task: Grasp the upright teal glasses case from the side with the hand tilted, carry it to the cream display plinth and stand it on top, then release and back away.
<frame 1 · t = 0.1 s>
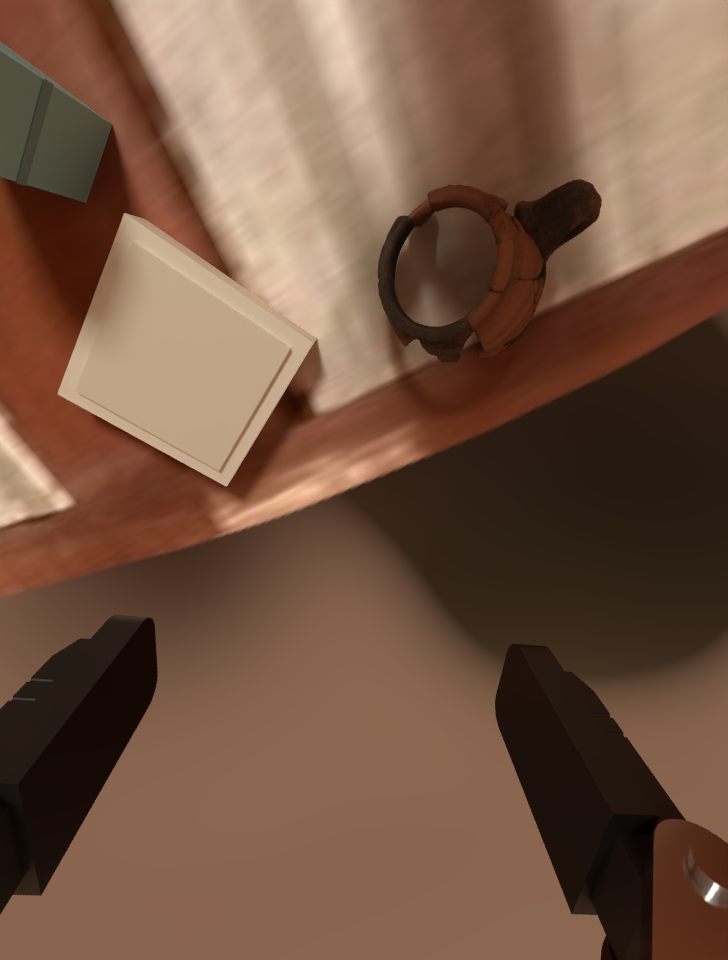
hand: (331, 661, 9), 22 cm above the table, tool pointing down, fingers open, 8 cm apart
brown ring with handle: (471, 273, 26), on the table
glasses case: (48, 129, 22), on the table
display plinth: (196, 362, 28), on the table
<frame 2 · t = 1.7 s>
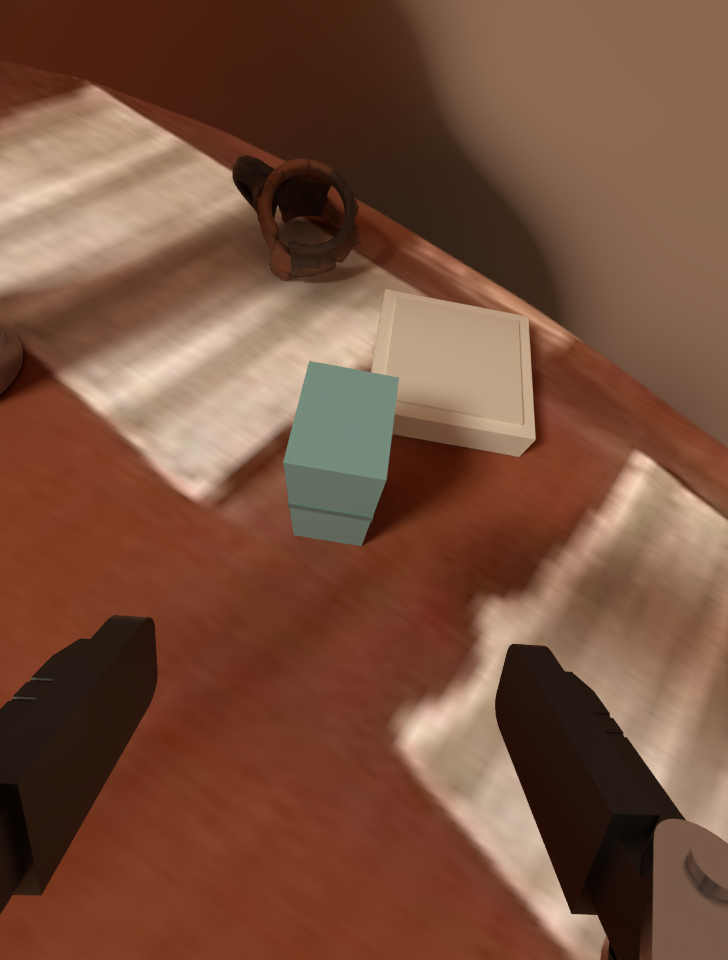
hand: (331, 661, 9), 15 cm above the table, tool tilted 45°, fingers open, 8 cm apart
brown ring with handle: (297, 249, 38), on the table
glasses case: (334, 500, 27), on the table
display plinth: (444, 380, 33), on the table
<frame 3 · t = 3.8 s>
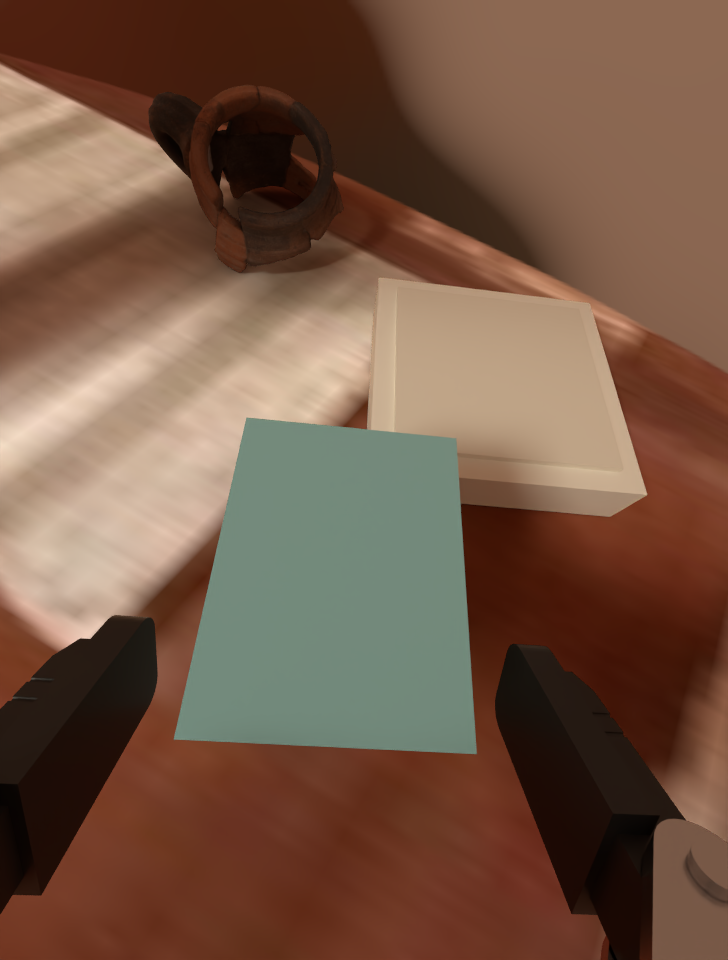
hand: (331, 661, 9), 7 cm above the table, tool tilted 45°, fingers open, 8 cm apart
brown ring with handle: (256, 231, 27), on the table
glasses case: (330, 630, 16), on the table
display plinth: (479, 404, 22), on the table
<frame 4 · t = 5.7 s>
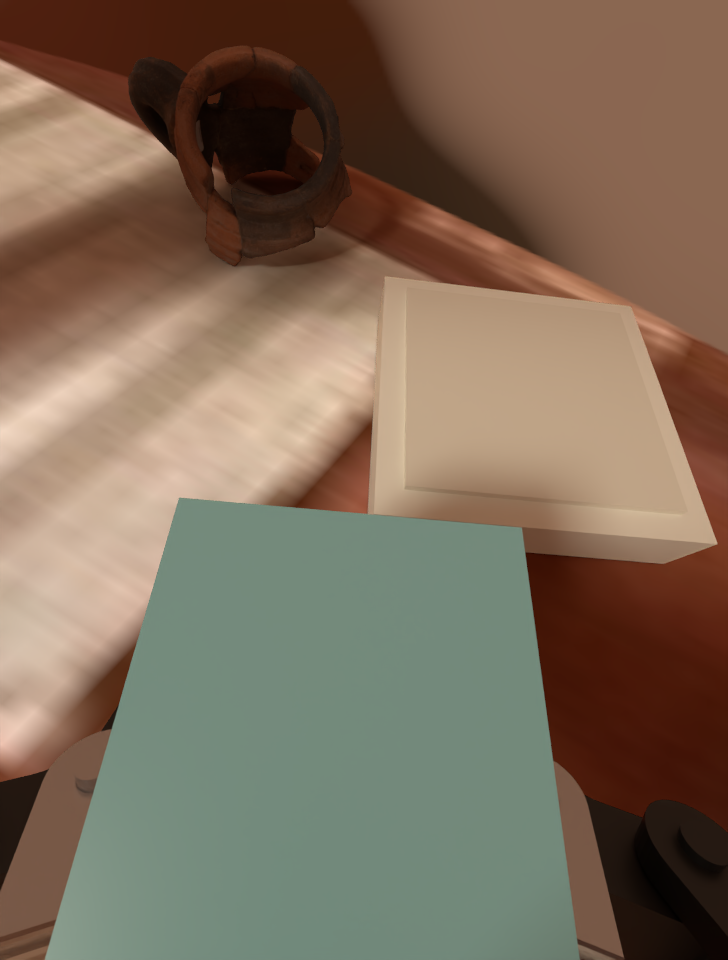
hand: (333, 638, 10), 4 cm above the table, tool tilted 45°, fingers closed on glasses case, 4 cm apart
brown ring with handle: (252, 220, 24), on the table
glasses case: (325, 717, 13), on the table, touching gripper
display plinth: (502, 425, 19), on the table
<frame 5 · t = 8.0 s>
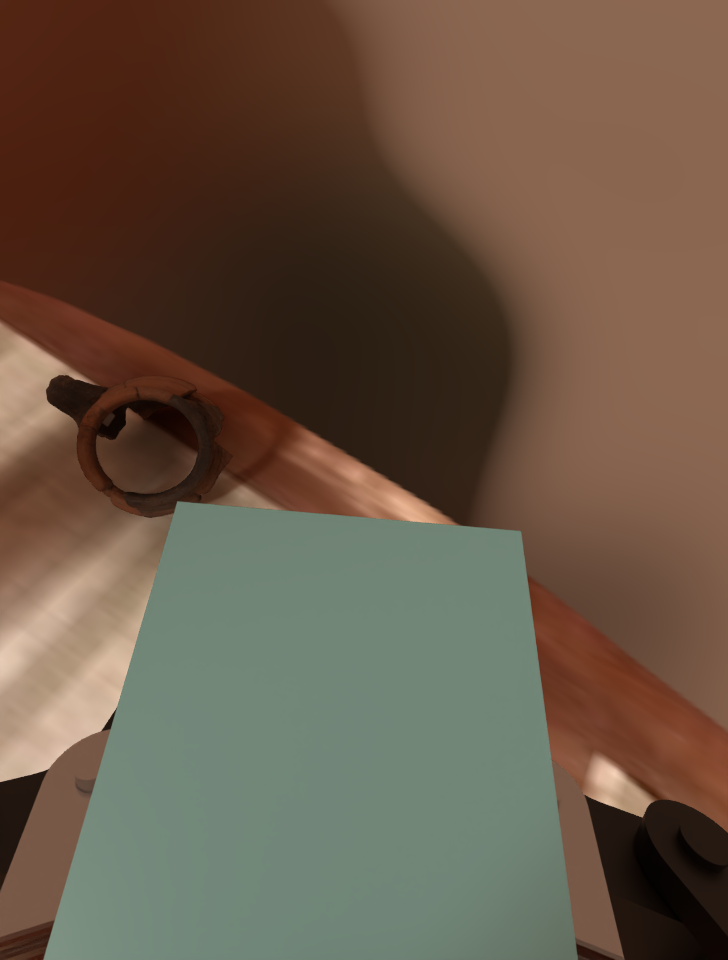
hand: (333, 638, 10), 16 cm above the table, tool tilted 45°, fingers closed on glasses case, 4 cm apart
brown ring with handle: (162, 456, 30), on the table
glasses case: (324, 718, 13), point 12 cm above the table, touching gripper
when the fingers open (8 cm above the table, at t = 10.5 s): glasses case stays where it is, resting on display plinth.
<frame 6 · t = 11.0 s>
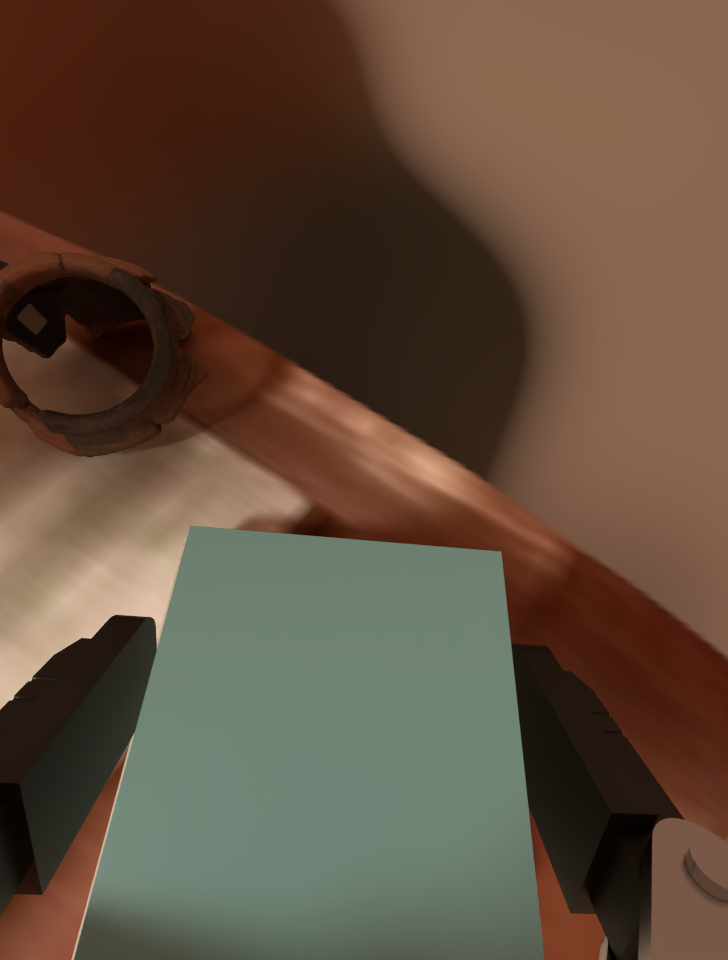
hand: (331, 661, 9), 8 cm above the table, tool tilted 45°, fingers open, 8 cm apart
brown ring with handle: (116, 384, 22), on the table
glasses case: (324, 720, 13), point 3 cm above the table, touching display plinth
display plinth: (323, 711, 16), on the table
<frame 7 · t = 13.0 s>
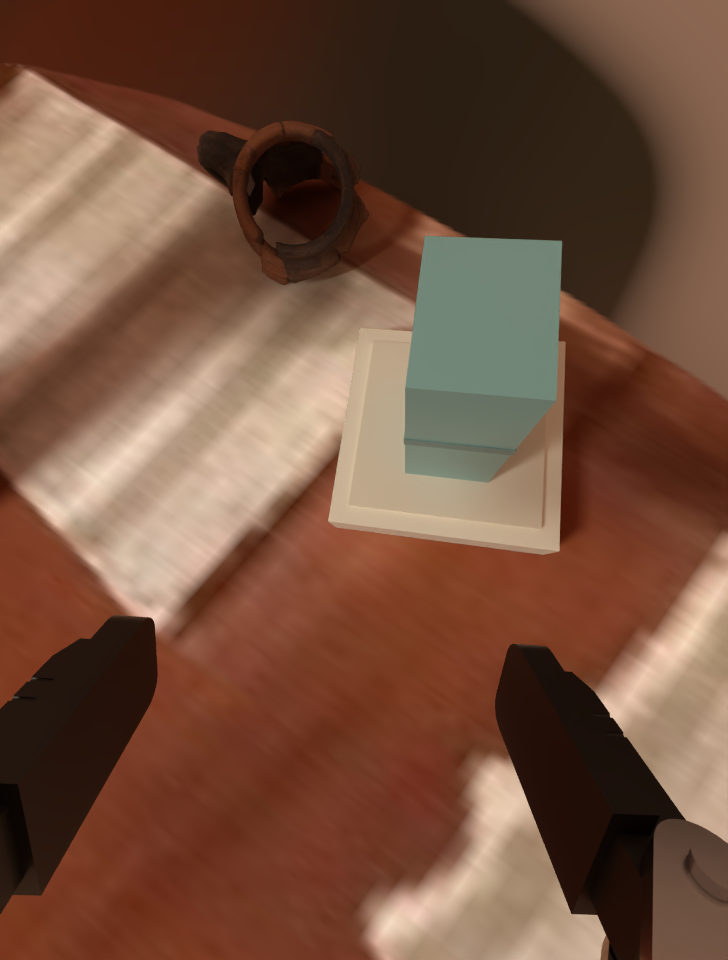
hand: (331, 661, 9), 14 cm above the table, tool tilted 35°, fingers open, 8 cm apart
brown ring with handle: (297, 234, 31), on the table
glasses case: (450, 429, 22), point 3 cm above the table, touching display plinth
display plinth: (445, 443, 25), on the table
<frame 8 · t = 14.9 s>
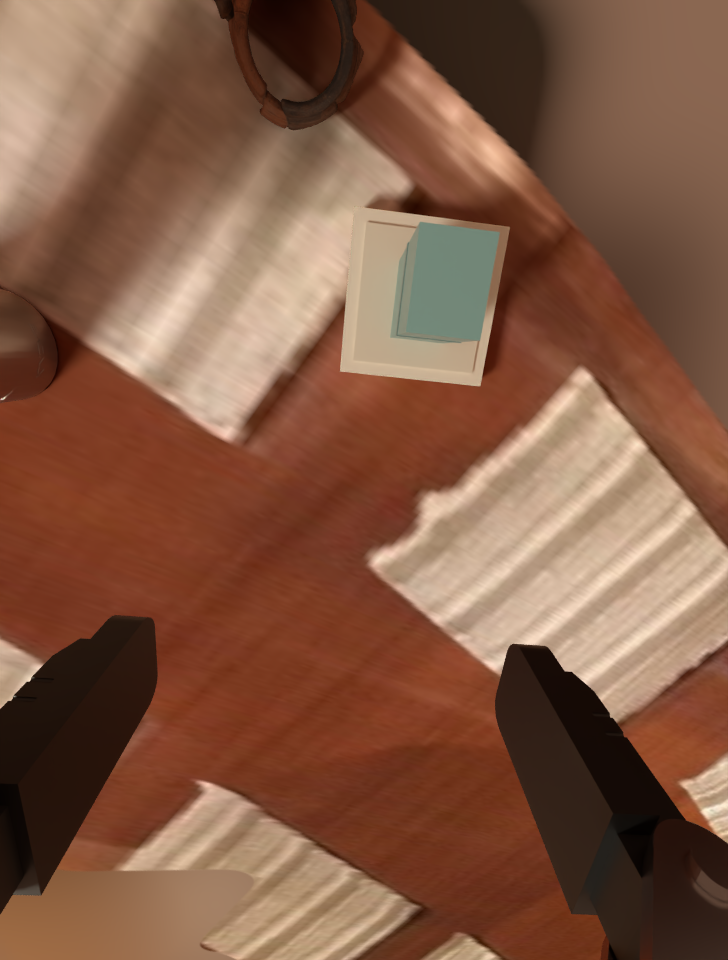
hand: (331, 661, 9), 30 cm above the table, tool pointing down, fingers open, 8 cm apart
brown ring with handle: (283, 49, 30), on the table
glasses case: (421, 303, 32), point 3 cm above the table, touching display plinth
display plinth: (416, 305, 35), on the table
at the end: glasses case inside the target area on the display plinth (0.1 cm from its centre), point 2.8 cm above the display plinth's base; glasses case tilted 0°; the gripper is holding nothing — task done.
